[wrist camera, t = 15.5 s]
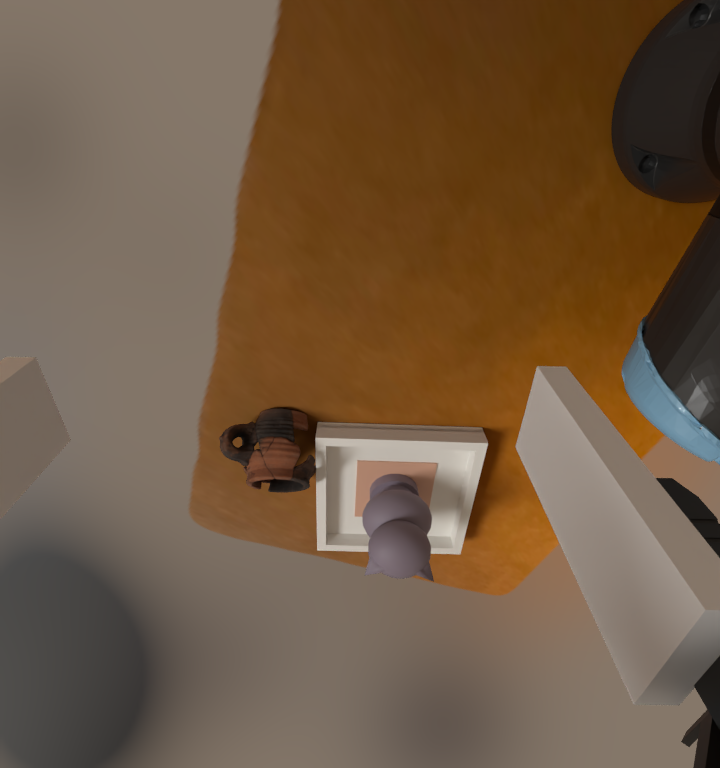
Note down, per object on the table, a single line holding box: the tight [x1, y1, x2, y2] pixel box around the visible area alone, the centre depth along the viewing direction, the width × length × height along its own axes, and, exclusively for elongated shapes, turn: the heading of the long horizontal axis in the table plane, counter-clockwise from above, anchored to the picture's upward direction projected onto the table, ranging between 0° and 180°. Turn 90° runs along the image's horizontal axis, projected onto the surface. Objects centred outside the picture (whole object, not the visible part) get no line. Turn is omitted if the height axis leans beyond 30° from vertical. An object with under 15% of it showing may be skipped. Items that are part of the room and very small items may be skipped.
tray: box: [315, 422, 488, 554], centre depth 57 cm, size 20×20×3 cm
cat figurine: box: [362, 474, 434, 581], centre depth 52 cm, size 8×8×12 cm
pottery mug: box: [219, 408, 317, 492], centre depth 52 cm, size 12×10×8 cm
